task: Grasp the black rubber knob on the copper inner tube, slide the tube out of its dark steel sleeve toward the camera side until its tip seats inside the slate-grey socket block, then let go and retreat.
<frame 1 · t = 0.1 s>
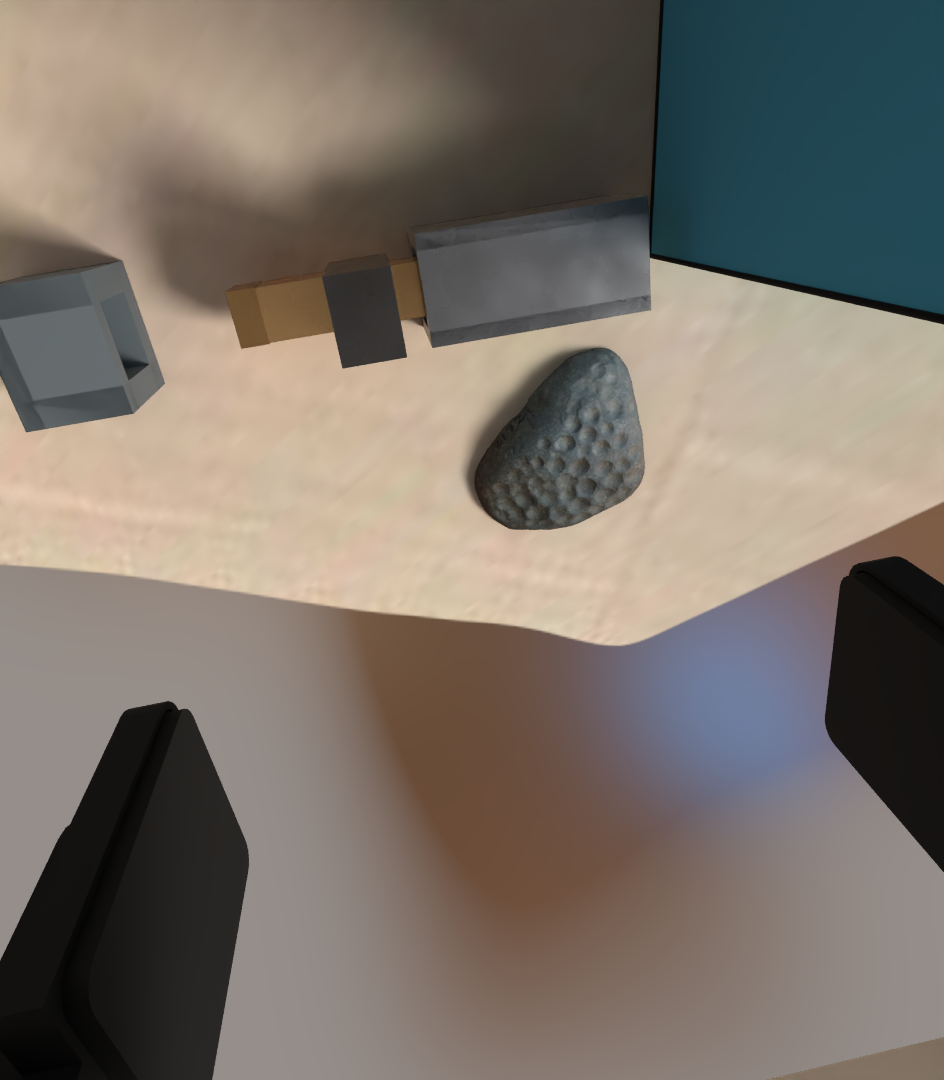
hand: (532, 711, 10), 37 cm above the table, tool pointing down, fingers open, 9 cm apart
fossil: (559, 441, 48), on the table
sleeve: (513, 262, 42), on the table
socket: (96, 332, 41), on the table
tube: (443, 290, 36), point 7 cm above the table, slide at 0.0 cm
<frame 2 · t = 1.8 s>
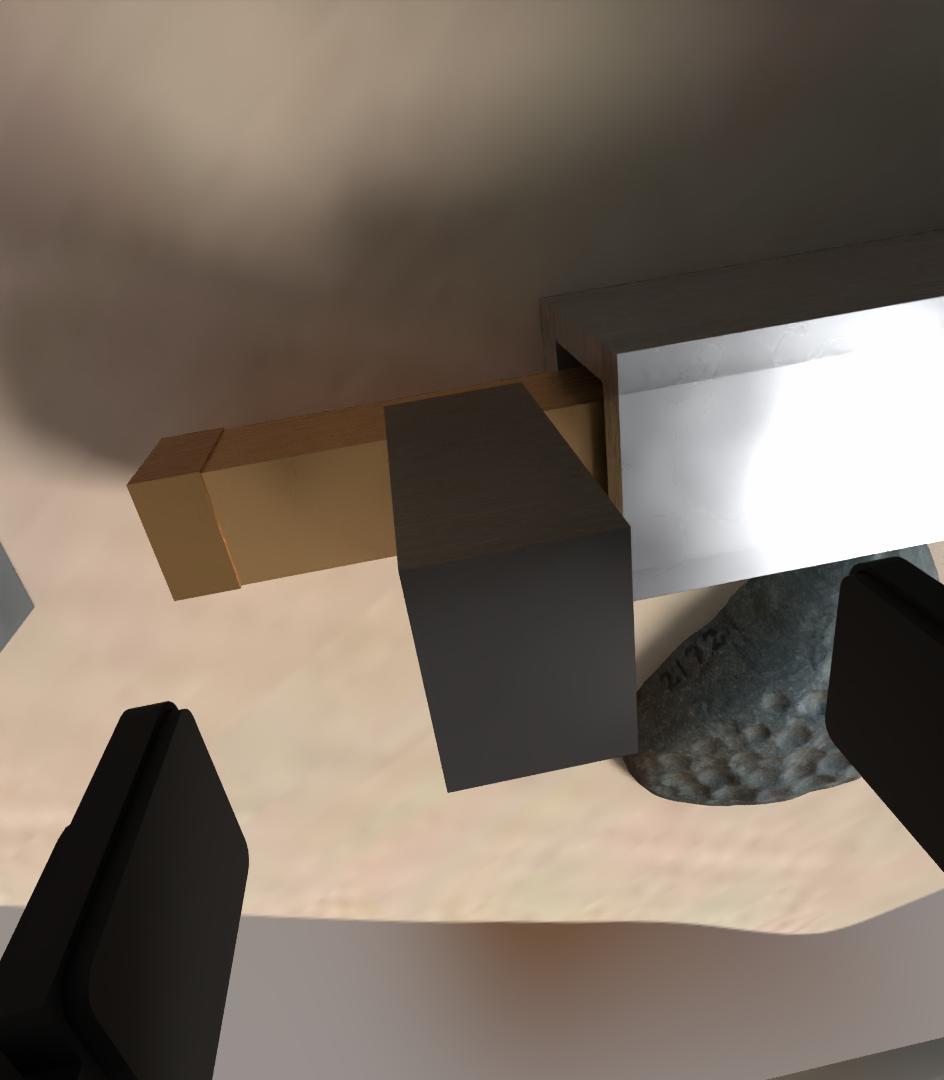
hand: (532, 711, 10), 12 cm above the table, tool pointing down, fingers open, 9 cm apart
fossil: (769, 657, 27), on the table
sleeve: (749, 363, 20), on the table
tube: (674, 486, 14), point 7 cm above the table, slide at 0.0 cm
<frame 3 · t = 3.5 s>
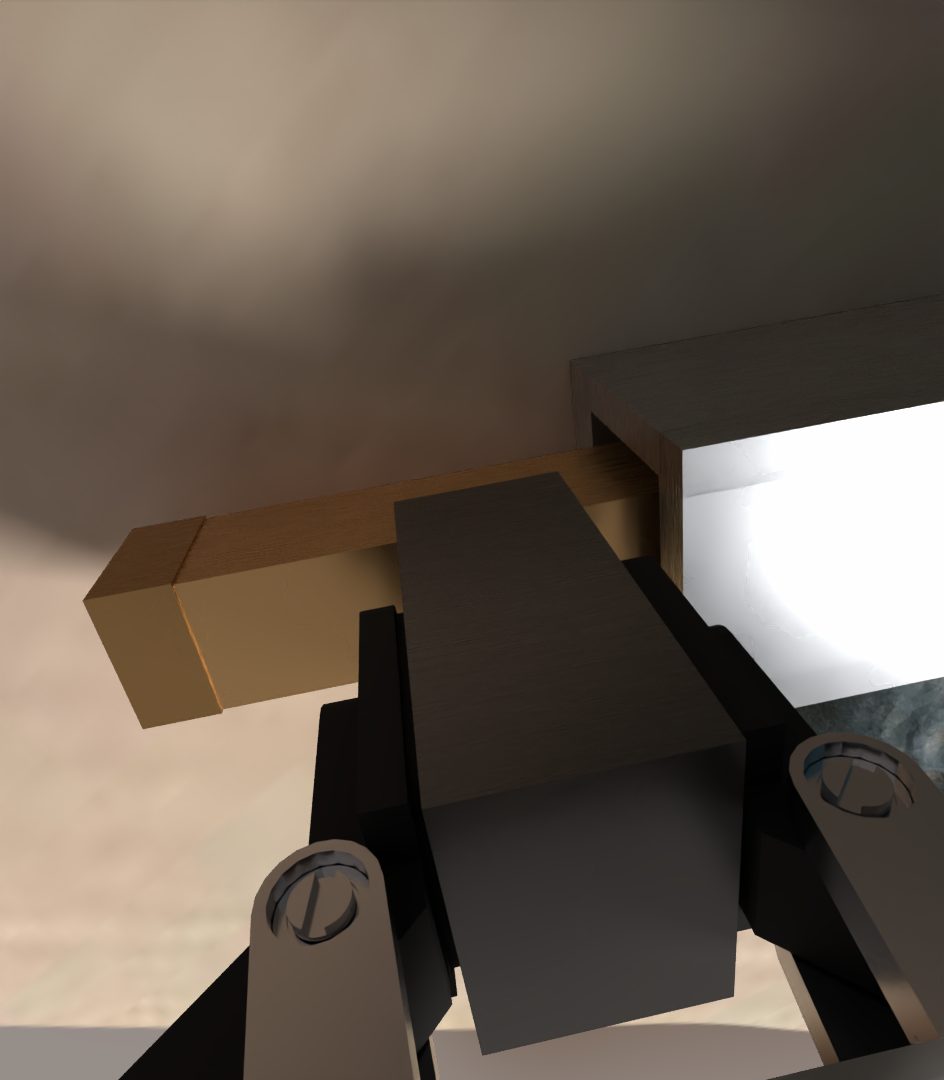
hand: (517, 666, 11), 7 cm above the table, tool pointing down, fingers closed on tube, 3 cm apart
fossil: (813, 739, 24), on the table
sleeve: (806, 428, 18), on the table
tube: (748, 602, 12), point 7 cm above the table, slide at 0.0 cm, touching gripper
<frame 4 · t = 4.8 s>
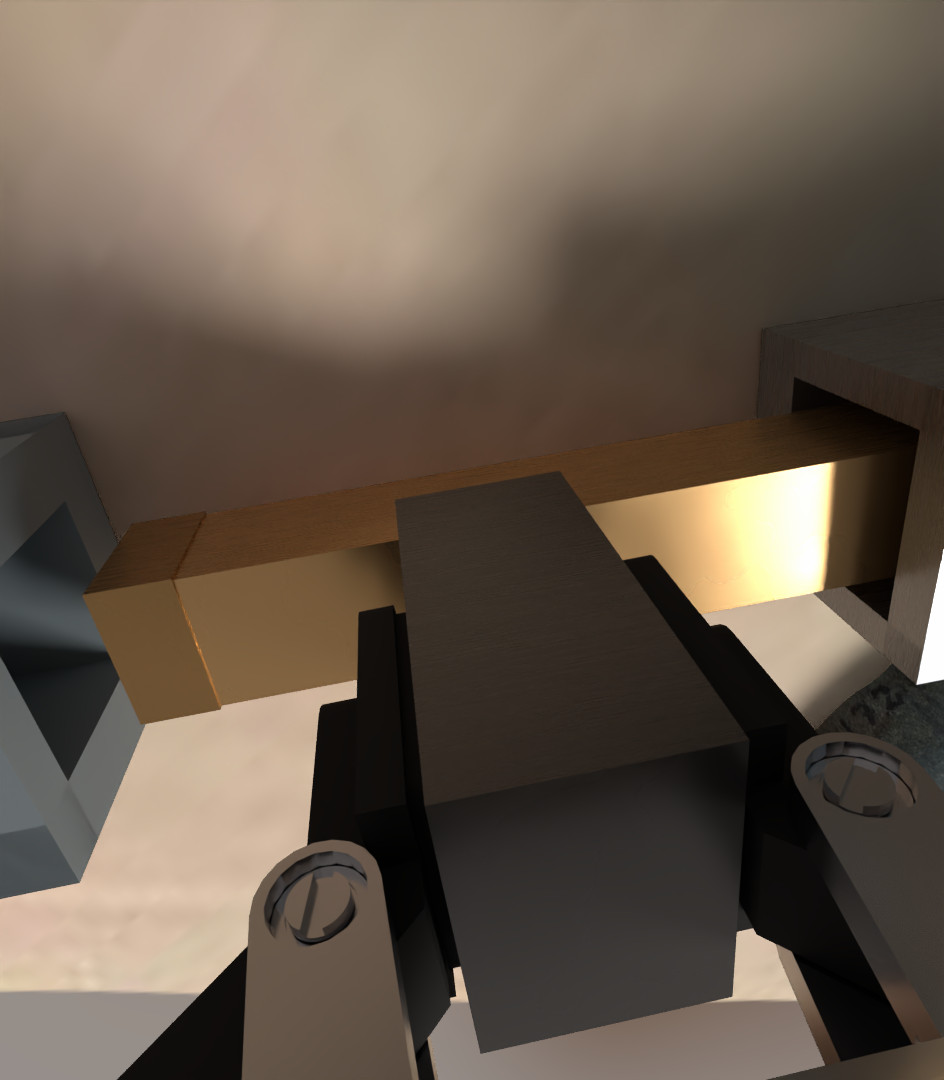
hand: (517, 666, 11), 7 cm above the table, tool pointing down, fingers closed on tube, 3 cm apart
fossil: (933, 713, 24), on the table
socket: (4, 572, 17), on the table
tube: (748, 604, 12), point 7 cm above the table, slide at 4.7 cm, touching gripper
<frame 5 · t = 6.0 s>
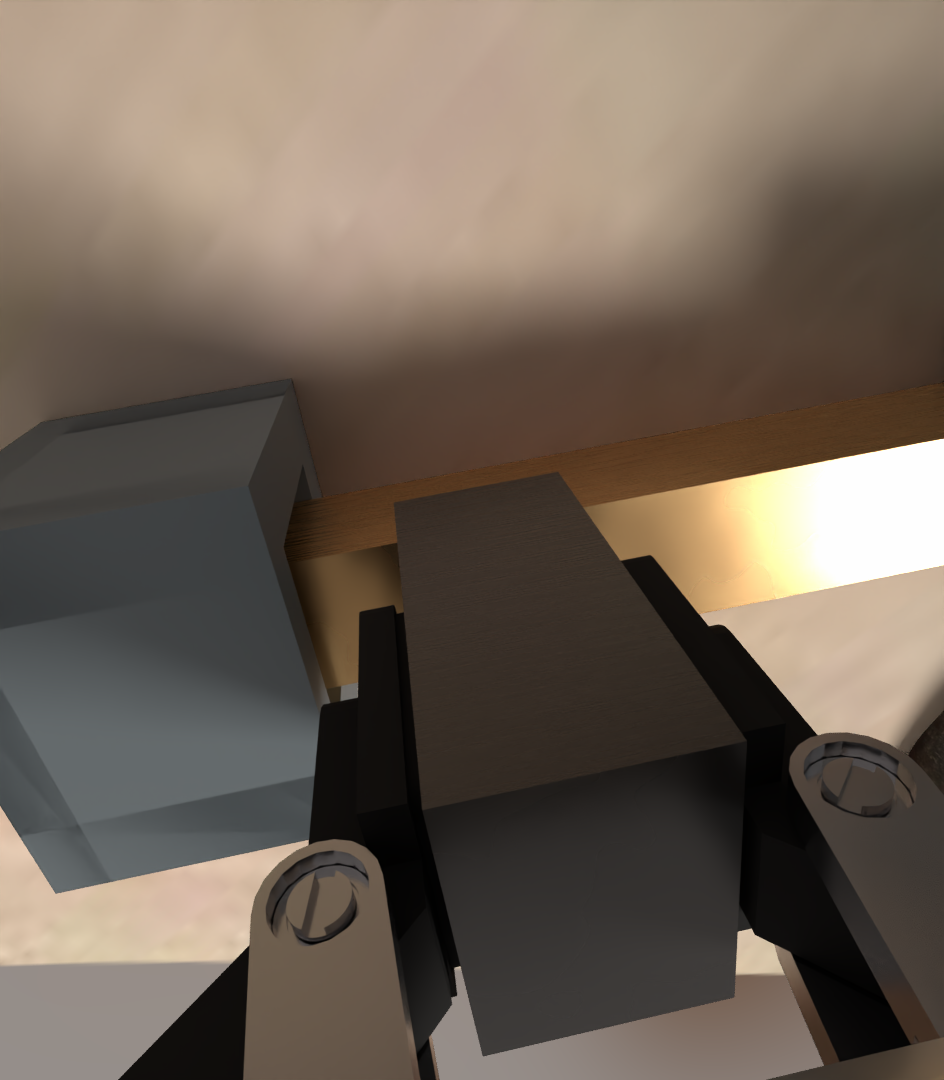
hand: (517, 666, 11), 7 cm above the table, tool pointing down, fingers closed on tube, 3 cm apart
socket: (216, 539, 17), on the table
tube: (748, 603, 12), point 7 cm above the table, slide at 9.6 cm, touching gripper
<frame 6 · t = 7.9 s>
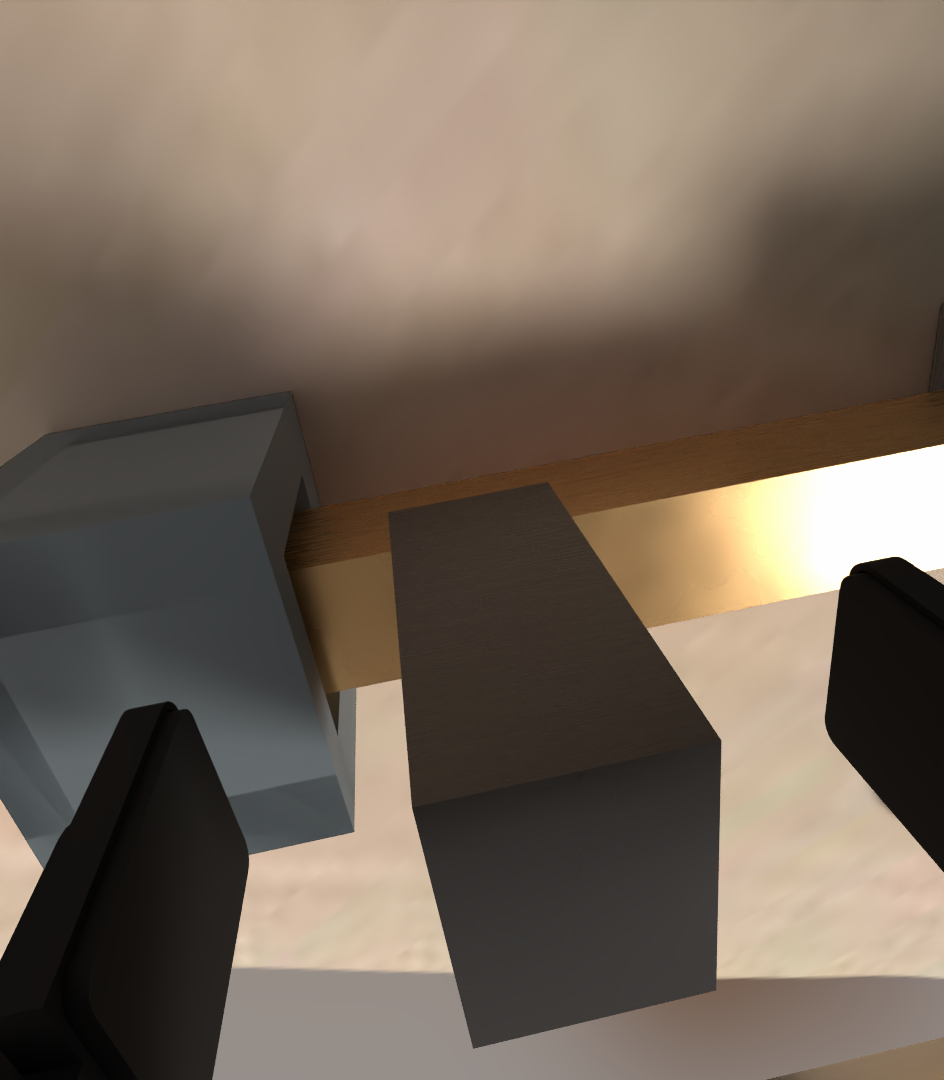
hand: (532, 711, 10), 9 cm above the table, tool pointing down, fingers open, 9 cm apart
socket: (216, 548, 17), on the table
tube: (732, 609, 12), point 7 cm above the table, slide at 9.7 cm
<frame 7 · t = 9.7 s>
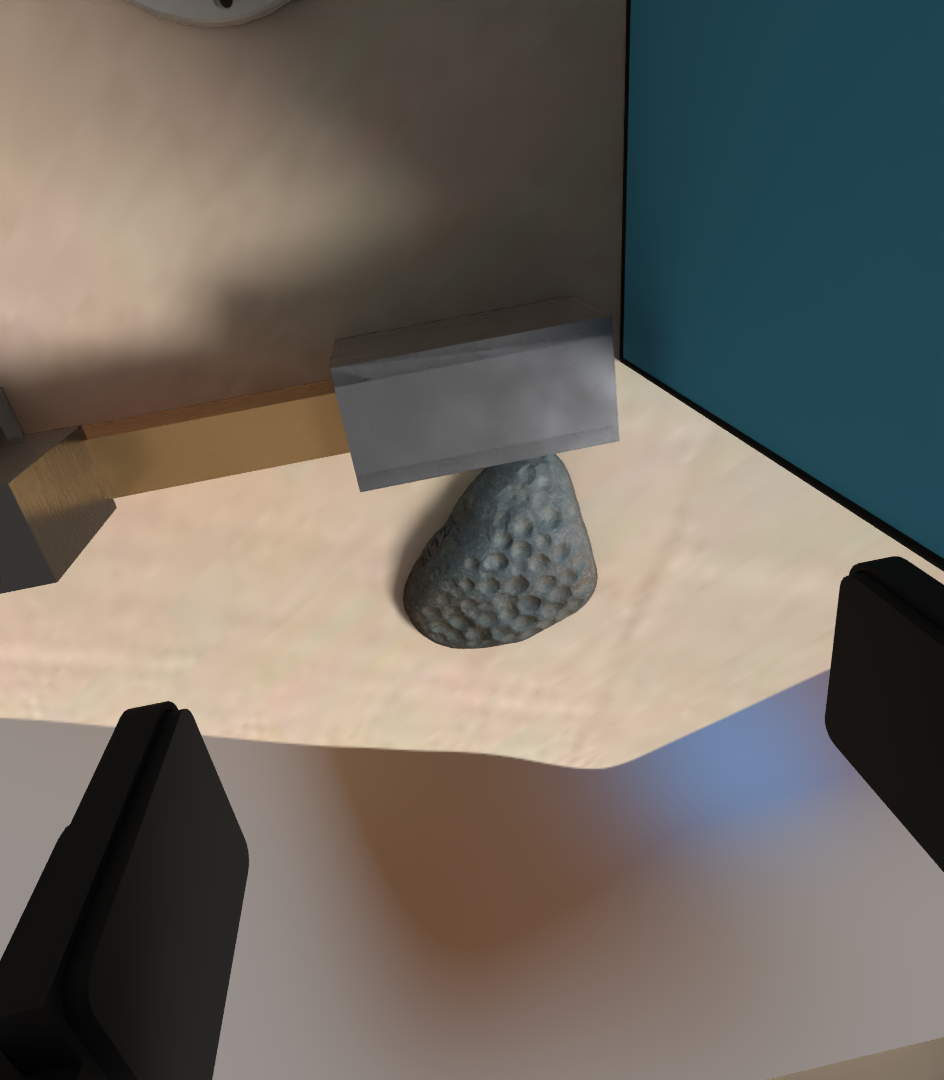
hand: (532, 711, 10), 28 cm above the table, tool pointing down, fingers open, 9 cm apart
fossil: (498, 547, 42), on the table
sleeve: (463, 373, 36), on the table
tube: (141, 474, 29), point 7 cm above the table, slide at 9.7 cm
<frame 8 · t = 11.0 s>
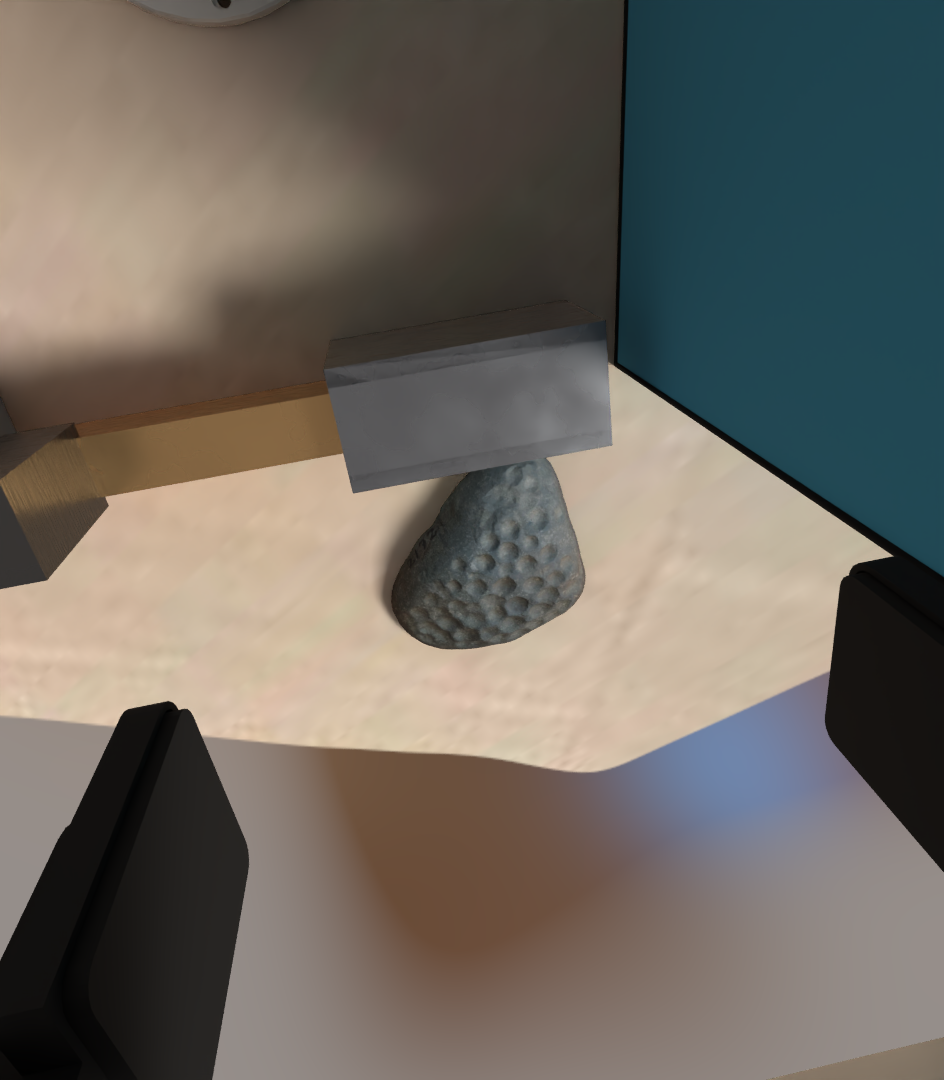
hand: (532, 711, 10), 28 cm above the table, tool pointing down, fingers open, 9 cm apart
fossil: (486, 548, 42), on the table
sleeve: (457, 375, 36), on the table
tube: (133, 473, 29), point 7 cm above the table, slide at 9.7 cm
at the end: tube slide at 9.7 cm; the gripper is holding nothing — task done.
